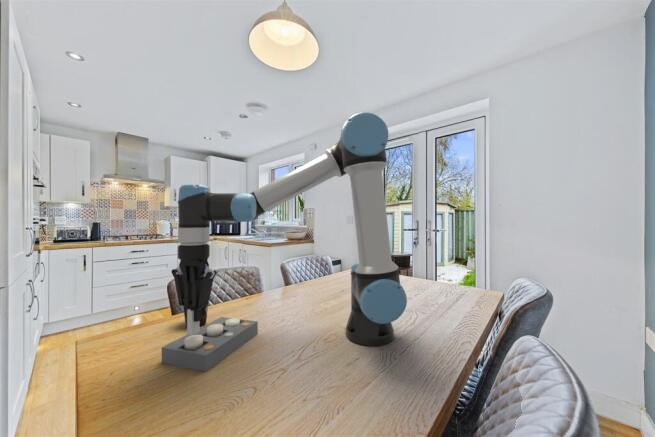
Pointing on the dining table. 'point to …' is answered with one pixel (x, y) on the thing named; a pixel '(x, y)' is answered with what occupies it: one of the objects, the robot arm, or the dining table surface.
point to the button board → (209, 346)
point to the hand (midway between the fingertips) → (193, 332)
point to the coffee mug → (203, 315)
